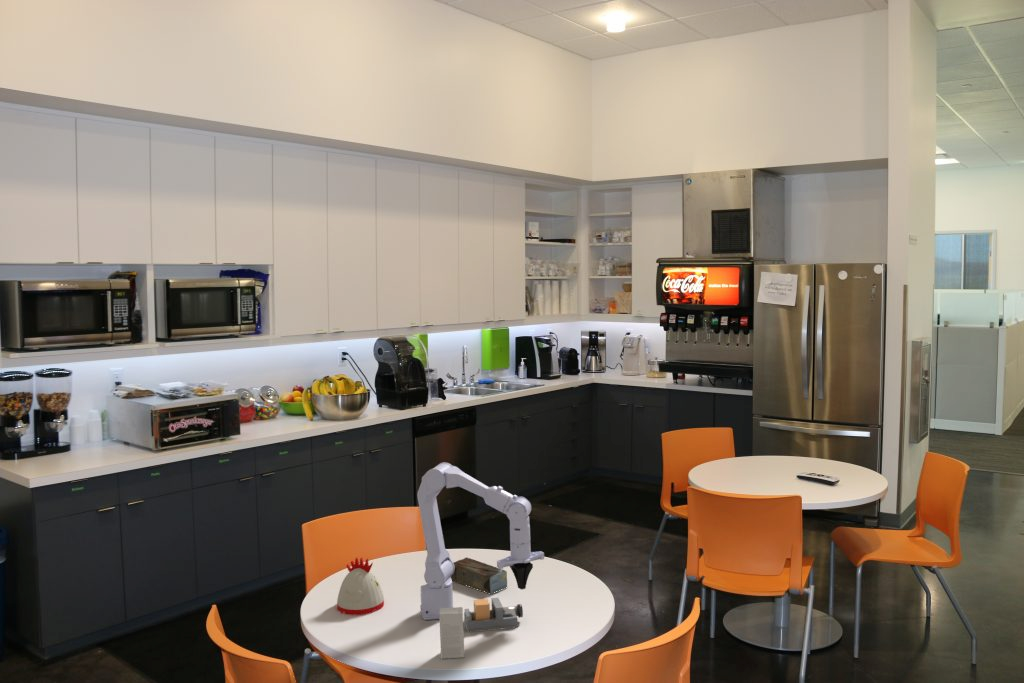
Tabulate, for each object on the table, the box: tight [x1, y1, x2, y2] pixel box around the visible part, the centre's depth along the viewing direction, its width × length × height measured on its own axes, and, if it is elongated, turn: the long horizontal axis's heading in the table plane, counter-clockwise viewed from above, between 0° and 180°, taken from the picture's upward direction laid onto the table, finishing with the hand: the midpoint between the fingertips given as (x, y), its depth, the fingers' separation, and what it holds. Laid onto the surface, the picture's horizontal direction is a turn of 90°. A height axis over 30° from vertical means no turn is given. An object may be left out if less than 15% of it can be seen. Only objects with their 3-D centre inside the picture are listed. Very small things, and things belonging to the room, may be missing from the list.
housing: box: [463, 597, 519, 633], centre depth 239 cm, size 14×8×6 cm, turn 101°
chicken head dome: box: [336, 557, 385, 616], centre depth 254 cm, size 14×14×15 cm
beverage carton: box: [451, 556, 508, 595], centre depth 270 cm, size 8×19×7 cm, turn 46°
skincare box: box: [438, 606, 465, 660], centre depth 220 cm, size 6×4×12 cm
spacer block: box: [473, 598, 491, 621], centre depth 239 cm, size 4×4×6 cm
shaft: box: [503, 603, 524, 618], centre depth 240 cm, size 7×4×4 cm, turn 101°
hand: (521, 588), depth 240 cm, fingers closed
